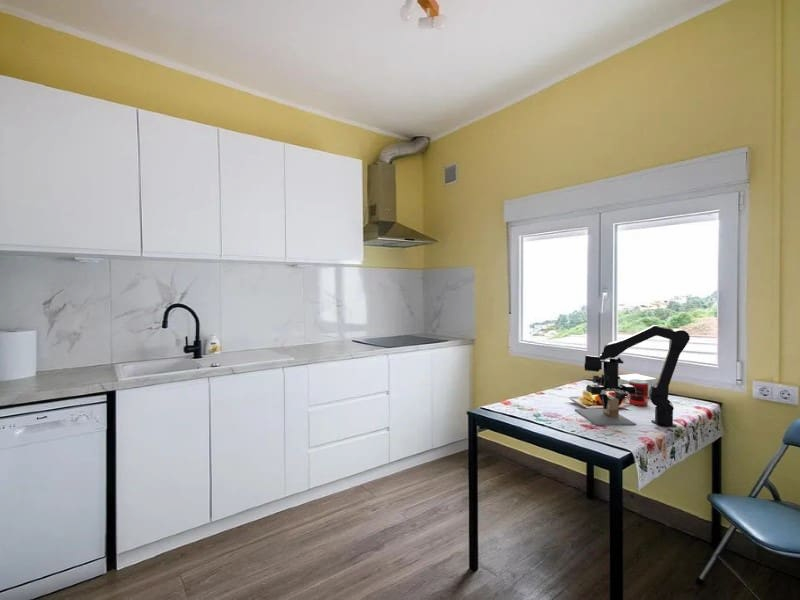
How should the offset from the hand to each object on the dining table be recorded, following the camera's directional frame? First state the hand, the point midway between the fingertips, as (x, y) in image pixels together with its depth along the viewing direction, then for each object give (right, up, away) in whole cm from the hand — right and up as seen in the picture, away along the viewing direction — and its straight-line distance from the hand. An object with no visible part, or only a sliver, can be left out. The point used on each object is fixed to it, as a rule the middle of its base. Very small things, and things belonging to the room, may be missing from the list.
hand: (610, 408), depth 174 cm
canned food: (+23, -3, +19) cm, 30 cm away
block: (0, -3, 0) cm, 3 cm away
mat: (-3, -4, 0) cm, 5 cm away
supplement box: (+30, -3, +36) cm, 47 cm away
